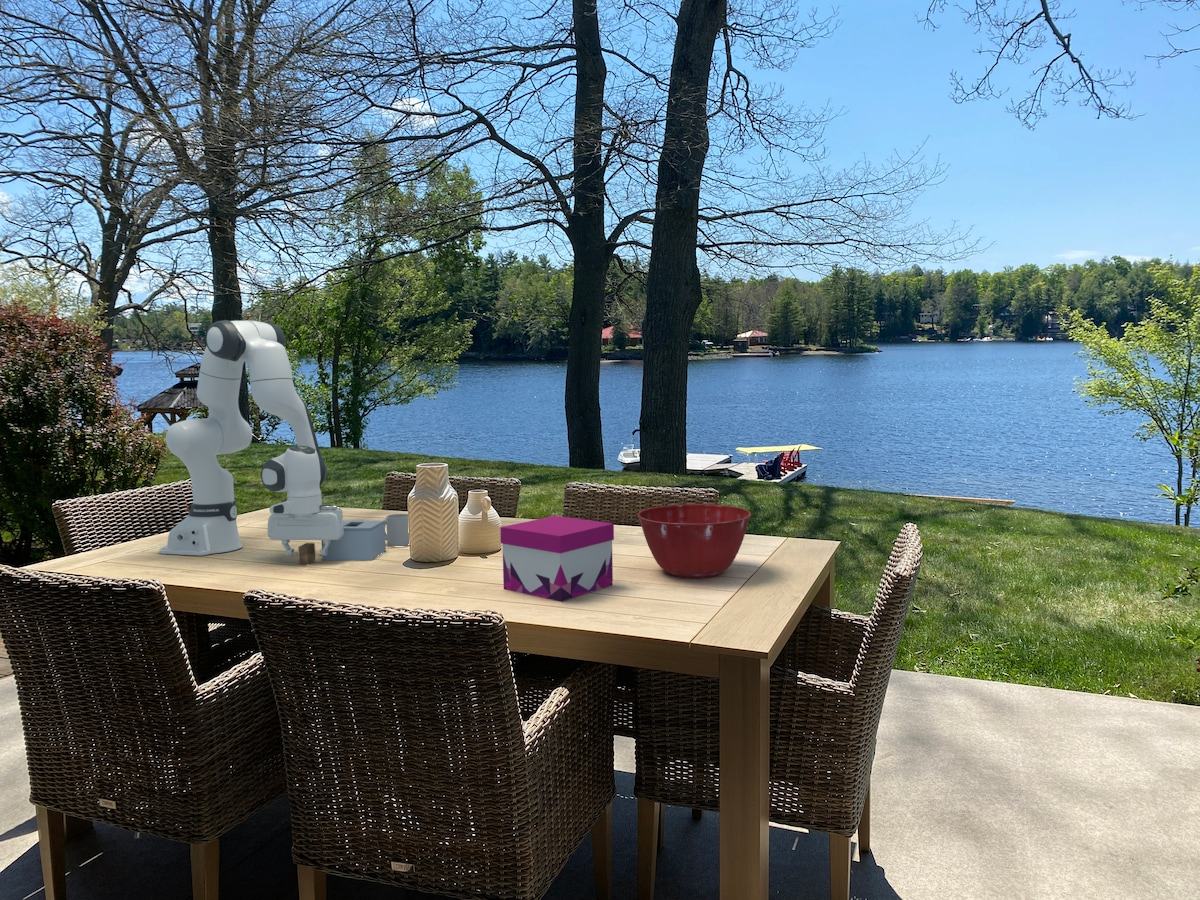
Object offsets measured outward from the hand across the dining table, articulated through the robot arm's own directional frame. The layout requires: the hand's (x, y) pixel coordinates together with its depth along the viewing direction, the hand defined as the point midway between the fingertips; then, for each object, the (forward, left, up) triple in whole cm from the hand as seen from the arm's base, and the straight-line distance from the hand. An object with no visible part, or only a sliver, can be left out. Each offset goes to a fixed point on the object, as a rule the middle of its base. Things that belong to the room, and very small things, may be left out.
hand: (307, 555), depth 229 cm
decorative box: (+72, -25, -2) cm, 76 cm away
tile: (0, 0, -2) cm, 2 cm away
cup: (+17, +24, -2) cm, 29 cm away
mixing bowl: (+105, -9, -2) cm, 105 cm away
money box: (+10, +9, -2) cm, 14 cm away
